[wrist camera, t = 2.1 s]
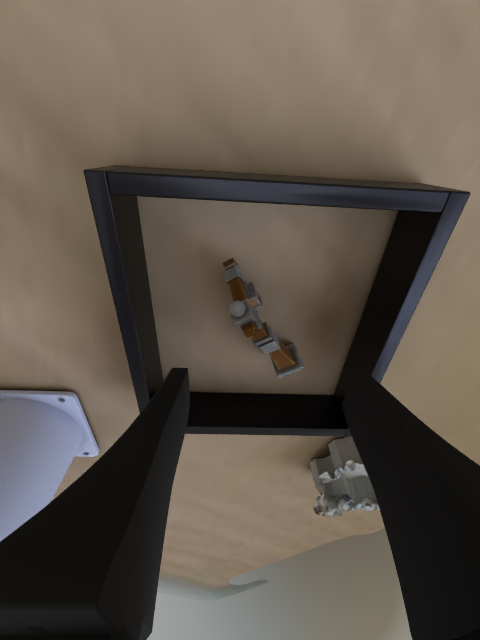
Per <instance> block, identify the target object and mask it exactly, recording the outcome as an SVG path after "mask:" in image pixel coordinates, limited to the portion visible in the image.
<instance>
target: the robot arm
mask: <svg viewBox="0 0 480 640" xmlns="http://www.w3.org/2000/svg"><path fill="white" fill-rule="evenodd" d="M189 406H190V391H189V378H188V368H172V369H171V370H170V372H169V374H168V375H167V377H166V379H165V380H164V382H163V383H162V385H161V386H160V388H159V389H158V391H157V392H156V394H155V395H154V396H153V398H152V399H151V400H150V402H149V403H148V404H147V406H146V407H145V408H144V410H143V411H142V412H141V413H140V415H139V416H138V417H137V418H136V419H135V421H134V422H133V423H132V424H131V425H130V427H129V428H128V429H127V430H126V431H125V432H124V434H123V435H122V436H121V437H120V438H119V439H118V440H117V441H116V442H115V443H114V444H113V445H112V446H111V448H110V449H109V450H108V451H107V452H106V453H105V454H104V455H103V456H102V457H101V458H100V459H98V460H97V461H96V462H95V463H94V464H93V465H92V466H91V467H90V468H89V469H88V470H87V471H86V472H85V473H84V474H83V475H82V476H81V477H79V478H78V479H77V480H76V481H75V482H74V483H72V484H71V485H70V486H69V487H68V488H67V489H66V490H64V491H63V492H62V493H61V494H60V495H59V496H57V497H56V498H55V499H54V500H53V501H52V499H53V497H54V495H55V493H56V491H57V489H58V487H59V485H60V483H61V481H62V480H63V478H64V476H65V474H66V472H67V470H68V468H69V466H70V464H71V462H72V460H73V458H74V457H75V456H88V457H94V456H97V455H98V453H99V448H98V446H97V443H96V441H95V438H94V436H93V434H92V431H91V429H90V426H89V424H88V421H87V419H86V416H85V414H84V412H83V409H82V407H81V404H80V402H79V399H78V397H77V395H76V394H75V393H73V392H63V391H21V390H0V640H146V639H147V638H148V637H149V635H150V634H151V632H152V626H153V617H154V610H155V602H156V595H157V587H158V579H159V572H160V564H161V557H162V550H163V543H164V536H165V529H166V522H167V516H168V509H169V503H170V497H171V490H172V485H173V480H174V476H175V472H176V468H177V464H178V459H179V455H180V451H181V447H182V443H183V439H184V435H185V431H186V427H187V421H188V414H189ZM342 406H343V410H344V414H345V418H346V421H347V425H348V428H349V431H350V433H351V436H352V438H353V441H354V443H355V446H356V448H357V450H358V453H359V455H360V458H361V460H362V462H363V465H364V467H365V470H366V472H367V474H368V477H369V479H370V482H371V485H372V487H373V490H374V493H375V496H376V499H377V502H378V506H379V509H380V512H381V515H382V518H383V522H384V525H385V529H386V532H387V536H388V539H389V543H390V547H391V550H392V554H393V558H394V562H395V566H396V570H397V574H398V577H399V582H400V586H401V591H402V595H403V599H404V604H405V608H406V612H407V617H408V622H409V627H410V632H411V636H412V639H413V640H480V466H479V465H478V464H477V463H475V462H474V461H472V460H471V459H469V458H468V457H467V456H465V455H464V454H463V453H461V452H460V451H459V450H457V449H456V448H454V447H453V446H452V445H450V444H449V443H448V442H446V441H445V440H444V439H443V438H441V437H440V436H439V435H438V434H436V433H435V432H434V431H433V430H432V429H430V428H429V427H428V426H427V425H425V424H424V423H423V422H422V421H421V420H420V419H418V418H417V417H416V416H415V415H414V414H413V413H411V412H410V411H409V410H408V409H407V408H406V407H405V406H404V405H402V404H401V403H400V402H399V401H398V400H397V399H396V398H395V397H394V396H393V395H391V394H390V393H389V392H388V391H387V390H386V389H385V388H384V387H383V386H382V385H381V384H380V383H378V382H377V381H376V380H375V379H374V378H373V377H372V376H371V375H369V374H368V373H354V376H353V378H352V381H351V383H350V386H349V388H348V391H347V393H346V396H345V398H344V401H343V404H342ZM51 501H52V502H51Z"/></svg>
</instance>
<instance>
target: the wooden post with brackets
mask: <svg viewBox="0 0 480 640" xmlns="http://www.w3.org/2000/svg"><path fill="white" fill-rule="evenodd" d="M223 266H224V270H225V272H224V275H225V278H226V282H227V283H228V284H229V286H230V290H231V293H232V297H233V302H232V303H231V305H230V306H229V311H230V314H231V318H232V321H233V325H236V326H237V327H238V328H239V329H240V330H241V331H242V332H243V333H244V335H246V336H247V337H250V336H251V337H252V339H253V342H254V344H255V346H257V347H258V348H259V349H261V350H262V351H263V352H264V353H265V354H269V355H270V356H271V359H272V362H273V365H274V369H275V372H276V375H277V376H278V379H279V378H281V377H284V376H287V375H289V374H292V373H294V372H297V371H300V370H302V369H304V367H303V365H302V362H301V359H300V357H299V354H298V352H297V349H296V346H295V345H293V344H291V345H288V346H285V345H283V344H282V343H280V342H279V341H278V339H277V336H276V334H275V333H273V331H272V330H271V329H270V326H268V324H267V323H266V322H264V323H262V321H261V320H260V318H259V315H258V312H257V311H256V310H258V309H259V308H260V306H262V302H261V299H260V296H259V293H256V292H255V289H254V285H253V283H252V282H251V283H249V284H247V285H246V282H244V280H243V277H242V274H241V272H240V271H239V268H238V266H237V263H236V262H235V260H234V259H233V258H231V259H229V260H228V261H226V262H224V263H223Z"/></svg>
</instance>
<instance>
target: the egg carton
mask: <svg viewBox="0 0 480 640" xmlns="http://www.w3.org/2000/svg"><path fill="white" fill-rule="evenodd" d="M328 447H329V450H330V453H331V454H330V455H329V456H328V457H326V458H321V459H319V458H315V459H314V460H313V461H311V462H310V467H311V471H312V475H313V480H314V483H315V486H316V489H317V490H318V491H319V493H320V494H321V496H322V497H320V496H319V497H318V498H317V499H316V503H315V505H314V507H313V509H314V511H315V512H316V514H319V515H320V514H322V515H323V516H329V515H331V516H333V517H334V516H337V515H340V516H341V514H342V510H343V509H345V510H348V511H350V512H354V511H355V510H356V509H360V508H361V509H363V510H365V511H371V510H380V509H379V506H378V502H377V499H376V496H375V493H374V490H373V487H372V485H371V482H370V479H369V477H368V474H367V472H366V470H365V467H364V465H363V462H362V460H361V458H360V455H359V453H358V450H357V448H356V446H355V443H354V441H353V438H352V436H348V437H345V438H343V439H334V440H333V441H332V442H331V443H329V444H328Z"/></svg>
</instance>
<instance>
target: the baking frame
mask: <svg viewBox="0 0 480 640" xmlns="http://www.w3.org/2000/svg"><path fill="white" fill-rule="evenodd" d="M84 175H85V180H86V184H87V188H88V193H89V197H90V201H91V205H92V210H93V214H94V218H95V223H96V227H97V231H98V235H99V240H100V244H101V248H102V253H103V257H104V261H105V265H106V270H107V274H108V278H109V283H110V287H111V291H112V295H113V300H114V304H115V308H116V313H117V317H118V321H119V325H120V330H121V334H122V338H123V343H124V347H125V351H126V355H127V360H128V364H129V368H130V373H131V377H132V381H133V385H134V390H135V394H136V398H137V403H138V407H139V411H140V413H141V412H142V411H143V410H144V408H145V407H146V406H147V404H148V403H149V402H150V400H151V399H152V398H153V396H154V395H155V394H156V392H157V391H158V389H159V388H160V386H161V385H162V383H163V377H162V370H161V363H160V356H159V350H158V343H157V336H156V329H155V322H154V315H153V308H152V302H151V295H150V288H149V281H148V274H147V267H146V260H145V254H144V247H143V240H142V233H141V226H140V219H139V213H138V206H137V199H136V196H142V197H160V198H179V199H197V200H216V201H234V202H252V203H271V204H289V205H308V206H326V207H344V208H363V209H381V210H399V213H398V216H397V219H396V222H395V224H394V227H393V230H392V233H391V236H390V239H389V241H388V244H387V247H386V250H385V253H384V255H383V258H382V261H381V264H380V267H379V269H378V272H377V275H376V278H375V281H374V283H373V286H372V289H371V292H370V295H369V298H368V300H367V303H366V306H365V309H364V312H363V314H362V317H361V320H360V323H359V326H358V328H357V331H356V334H355V337H354V340H353V343H352V345H351V348H350V351H349V354H348V357H347V359H346V362H345V365H344V368H343V371H342V373H341V376H340V379H339V382H338V385H337V388H336V390H335V393H334V396H326V395H284V394H242V393H200V392H190V406H189V414H188V421H187V427H186V431H185V434H240V435H299V436H351V433H350V431H349V428H348V425H347V421H346V418H345V414H344V410H343V406H342V404H343V401H344V398H345V396H346V393H347V391H348V388H349V386H350V383H351V381H352V378H353V376H354V373H368V374H369V375H371V376H372V377H373V378H374V379H375V380H376V381H377V382H378V383H380V382H381V380H382V378H383V376H384V374H385V372H386V370H387V368H388V366H389V363H390V361H391V359H392V357H393V355H394V353H395V351H396V349H397V347H398V345H399V343H400V340H401V338H402V336H403V334H404V332H405V330H406V328H407V326H408V324H409V322H410V319H411V317H412V315H413V313H414V311H415V309H416V307H417V305H418V303H419V301H420V298H421V296H422V294H423V292H424V290H425V288H426V286H427V284H428V282H429V280H430V277H431V275H432V273H433V271H434V269H435V267H436V265H437V263H438V261H439V259H440V256H441V254H442V252H443V250H444V248H445V246H446V244H447V242H448V240H449V238H450V235H451V233H452V231H453V229H454V227H455V225H456V223H457V221H458V219H459V217H460V215H461V212H462V210H463V208H464V206H465V204H466V202H467V200H468V198H469V196H470V192H467V191H461V190H456V189H450V188H445V187H439V186H434V185H428V184H419V183H402V182H385V181H368V180H351V179H334V178H317V177H300V176H283V175H266V174H249V173H232V172H215V171H198V170H181V169H164V168H147V167H131V166H108V167H100V168H93V169H85V170H84Z"/></svg>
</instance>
